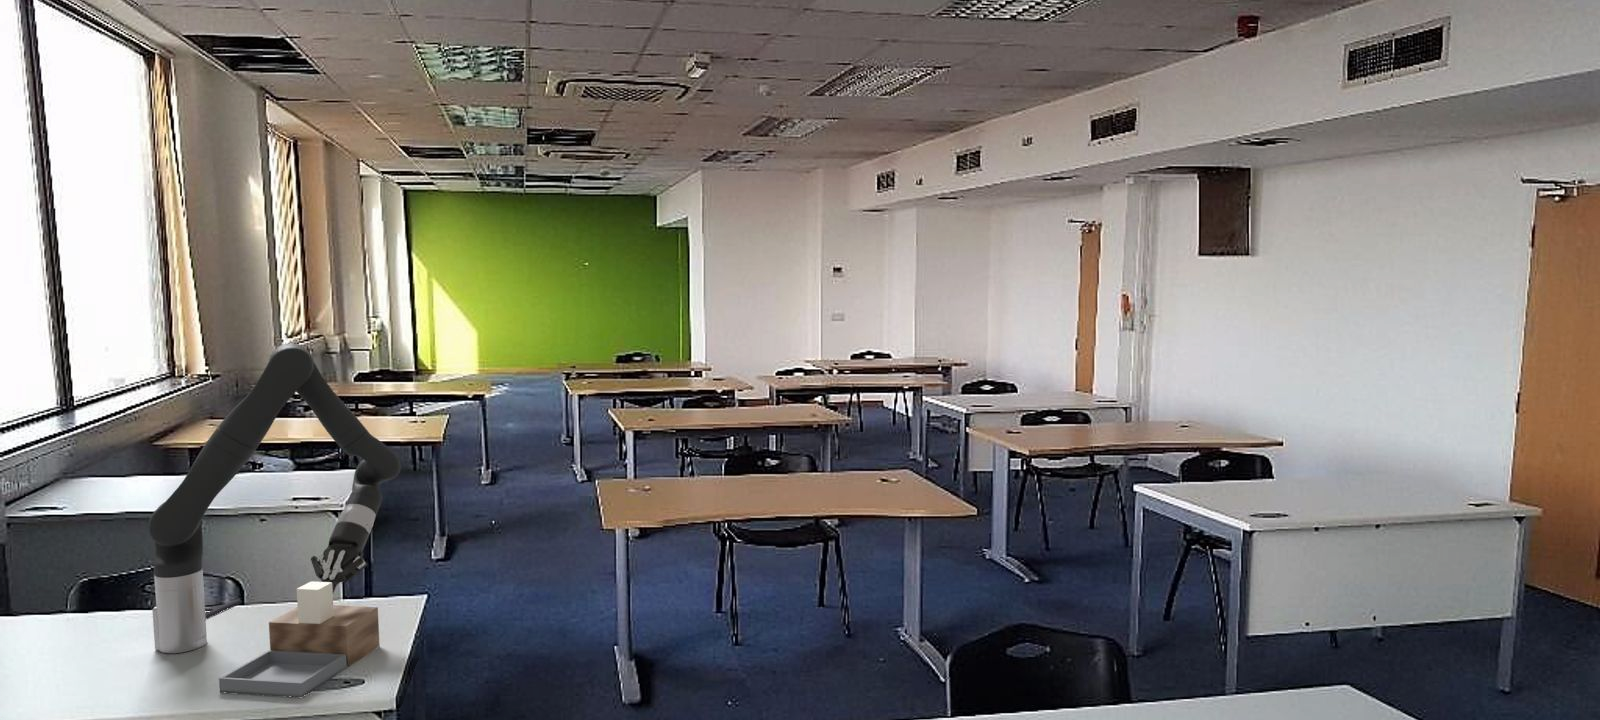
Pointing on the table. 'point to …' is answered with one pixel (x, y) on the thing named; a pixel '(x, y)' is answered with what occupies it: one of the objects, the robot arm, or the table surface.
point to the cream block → (315, 602)
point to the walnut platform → (329, 633)
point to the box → (283, 673)
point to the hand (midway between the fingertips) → (323, 597)
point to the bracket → (220, 608)
